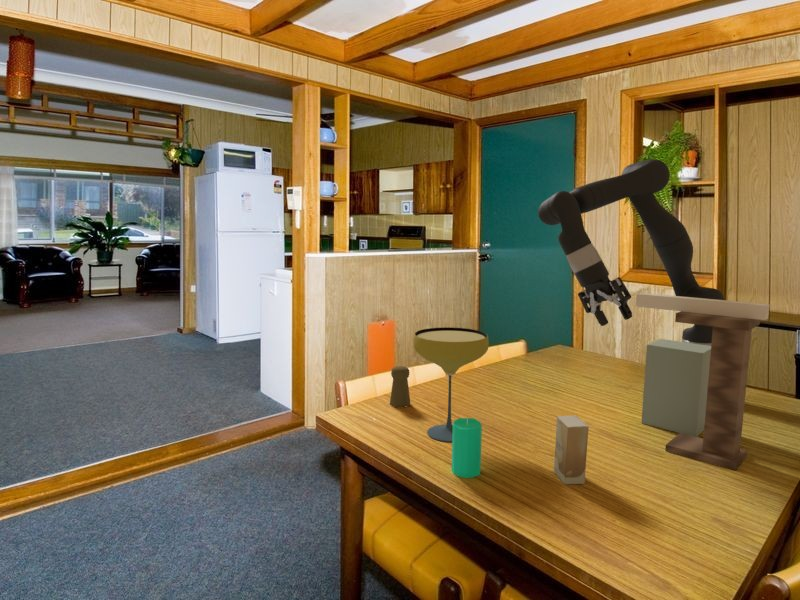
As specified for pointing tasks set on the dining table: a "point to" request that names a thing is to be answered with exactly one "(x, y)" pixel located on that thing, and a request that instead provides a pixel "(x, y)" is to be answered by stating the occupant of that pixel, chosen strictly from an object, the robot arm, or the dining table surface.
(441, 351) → the cocktail glass
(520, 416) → the dining table surface
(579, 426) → the skincare box
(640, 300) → the cream bar
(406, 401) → the pepper mill
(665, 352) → the pale grey-green block
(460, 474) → the candle
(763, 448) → the dining table surface
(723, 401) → the walnut stand
